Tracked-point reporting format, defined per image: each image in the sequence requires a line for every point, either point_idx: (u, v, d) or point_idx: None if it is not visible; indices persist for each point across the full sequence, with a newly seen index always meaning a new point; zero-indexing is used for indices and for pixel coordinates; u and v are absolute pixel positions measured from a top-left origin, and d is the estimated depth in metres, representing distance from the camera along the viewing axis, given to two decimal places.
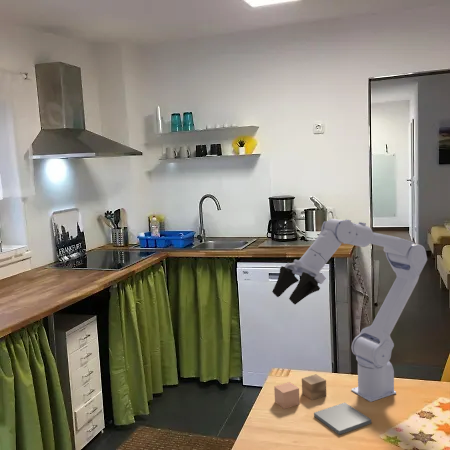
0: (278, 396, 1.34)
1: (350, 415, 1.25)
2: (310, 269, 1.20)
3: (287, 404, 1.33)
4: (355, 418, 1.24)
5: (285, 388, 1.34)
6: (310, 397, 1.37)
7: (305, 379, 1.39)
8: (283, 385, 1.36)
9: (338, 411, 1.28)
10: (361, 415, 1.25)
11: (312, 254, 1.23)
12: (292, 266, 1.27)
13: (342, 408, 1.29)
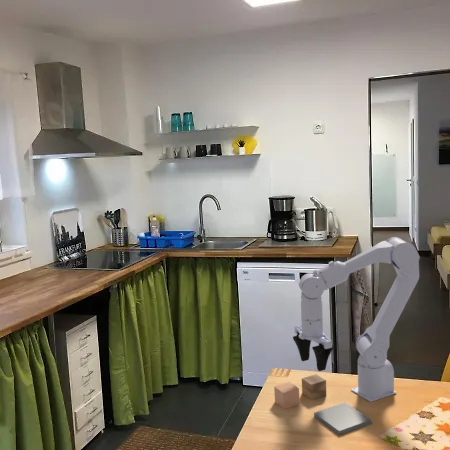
0: (278, 396, 1.34)
1: (350, 415, 1.25)
2: (315, 340, 1.32)
3: (287, 404, 1.33)
4: (355, 418, 1.24)
5: (285, 388, 1.34)
6: (310, 397, 1.37)
7: (305, 379, 1.39)
8: (283, 385, 1.36)
9: (338, 411, 1.28)
10: (361, 415, 1.25)
11: (308, 324, 1.34)
12: None
13: (342, 408, 1.29)
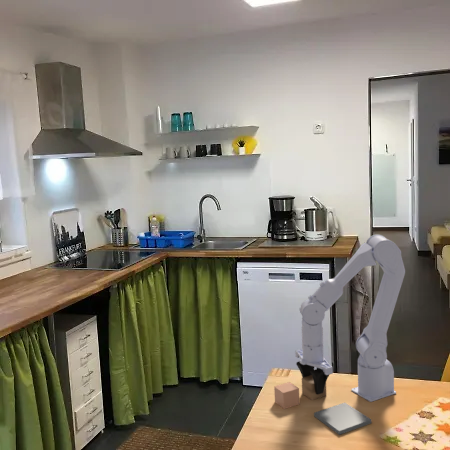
0: (278, 396, 1.34)
1: (350, 415, 1.25)
2: (316, 366, 1.33)
3: (287, 404, 1.33)
4: (355, 418, 1.24)
5: (285, 388, 1.34)
6: (310, 397, 1.36)
7: (305, 379, 1.39)
8: (283, 385, 1.36)
9: (338, 411, 1.28)
10: (361, 415, 1.25)
11: (309, 350, 1.35)
12: None
13: (342, 408, 1.29)
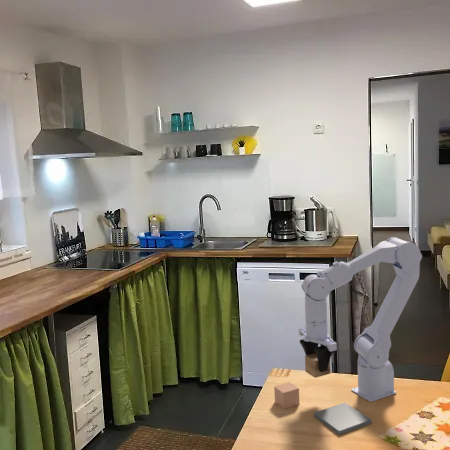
0: (278, 396, 1.34)
1: (350, 415, 1.25)
2: (320, 342, 1.30)
3: (287, 404, 1.33)
4: (355, 418, 1.24)
5: (285, 388, 1.34)
6: (314, 374, 1.33)
7: (308, 356, 1.35)
8: (283, 385, 1.36)
9: (338, 411, 1.28)
10: (361, 415, 1.25)
11: (312, 326, 1.32)
12: None
13: (342, 408, 1.29)
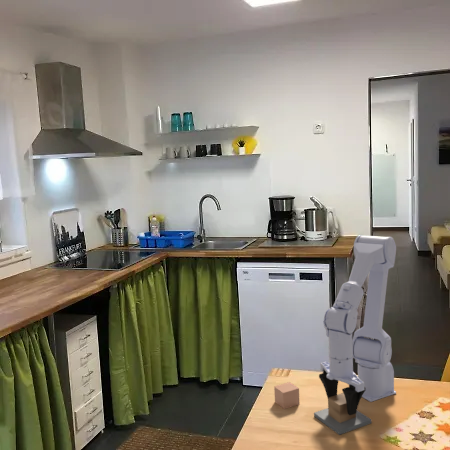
0: (278, 396, 1.34)
1: None
2: (346, 381, 1.19)
3: (287, 404, 1.33)
4: (355, 418, 1.24)
5: (285, 388, 1.34)
6: (338, 419, 1.23)
7: (332, 399, 1.25)
8: (283, 385, 1.36)
9: None
10: (361, 415, 1.25)
11: (337, 363, 1.21)
12: None
13: None
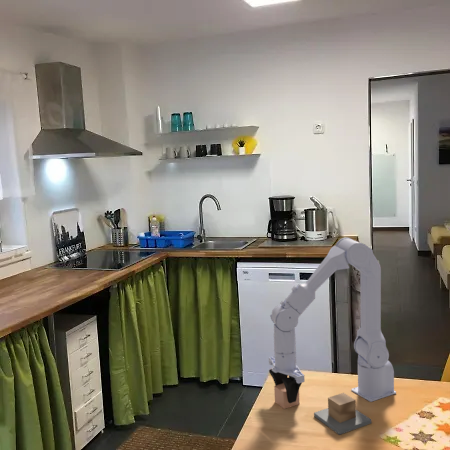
0: (278, 395, 1.34)
1: None
2: (288, 374, 1.30)
3: (287, 404, 1.33)
4: (355, 418, 1.24)
5: (285, 388, 1.34)
6: (338, 419, 1.23)
7: (332, 399, 1.25)
8: (283, 385, 1.36)
9: None
10: (361, 415, 1.25)
11: (280, 357, 1.31)
12: None
13: None
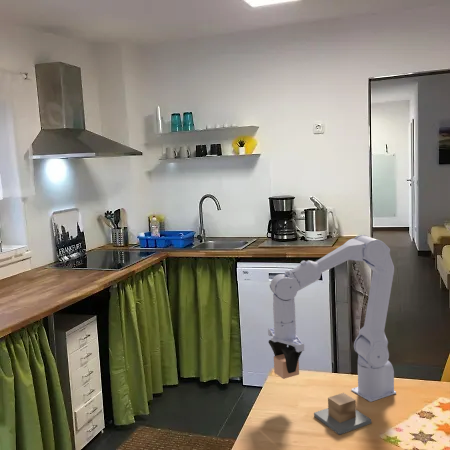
0: (277, 366, 1.33)
1: None
2: (287, 343, 1.28)
3: (287, 374, 1.31)
4: (355, 418, 1.24)
5: None
6: (338, 419, 1.23)
7: (332, 399, 1.25)
8: (283, 355, 1.35)
9: None
10: (361, 415, 1.25)
11: (280, 327, 1.30)
12: None
13: None
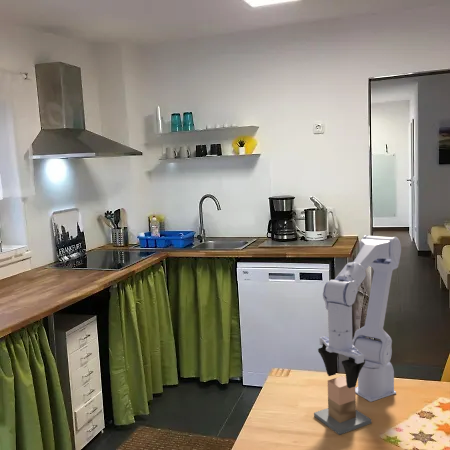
0: (332, 391, 1.23)
1: None
2: (345, 353, 1.18)
3: (343, 400, 1.22)
4: (355, 418, 1.24)
5: (340, 383, 1.23)
6: (338, 419, 1.23)
7: None
8: (337, 379, 1.25)
9: None
10: (361, 415, 1.25)
11: (336, 336, 1.20)
12: None
13: None
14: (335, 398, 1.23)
